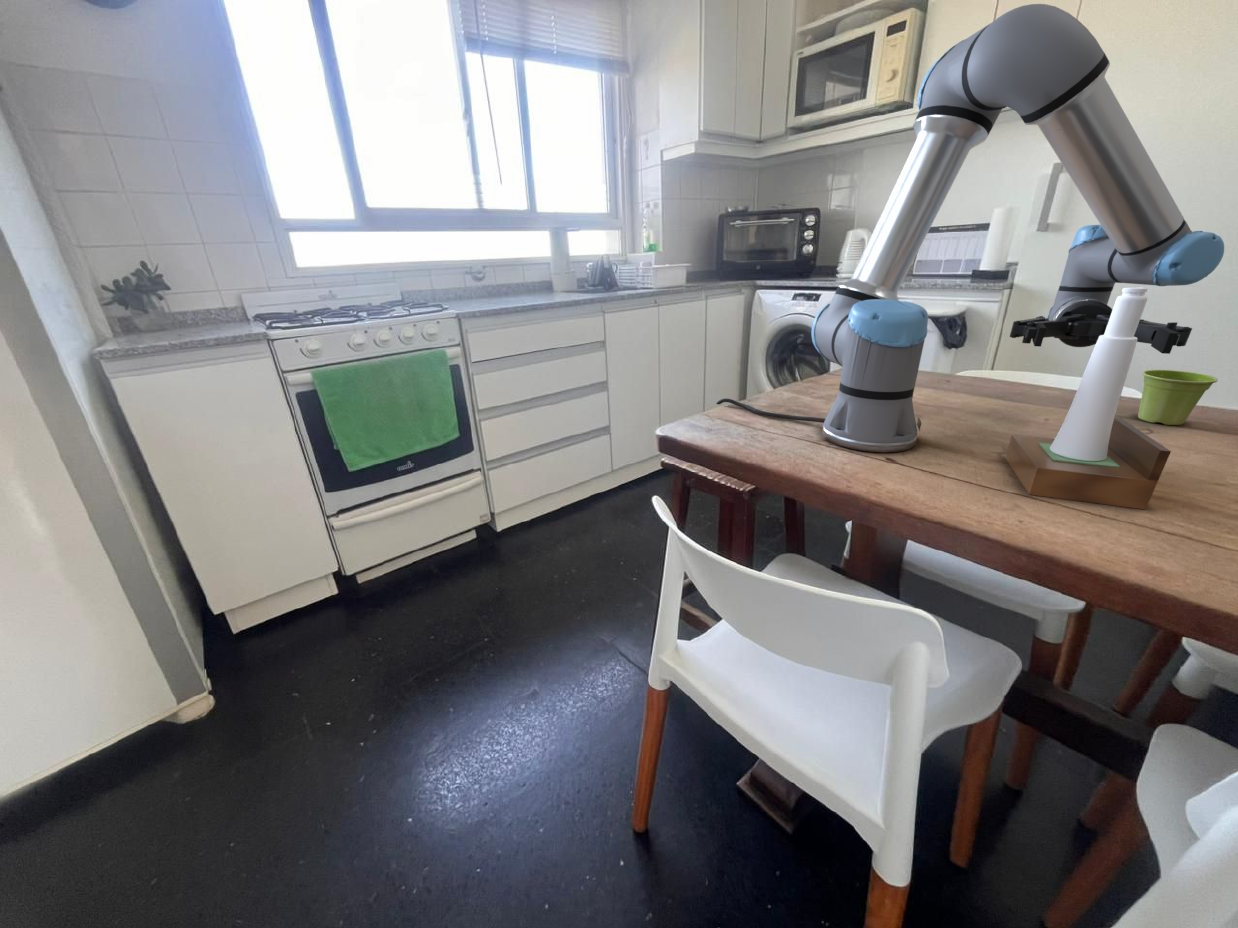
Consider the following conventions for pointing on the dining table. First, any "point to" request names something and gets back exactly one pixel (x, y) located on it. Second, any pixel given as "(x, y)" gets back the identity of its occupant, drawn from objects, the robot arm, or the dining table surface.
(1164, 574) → the dining table surface
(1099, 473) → the wooden block green inlay
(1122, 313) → the cosmetic bottle
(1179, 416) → the plant pot
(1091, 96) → the robot arm
